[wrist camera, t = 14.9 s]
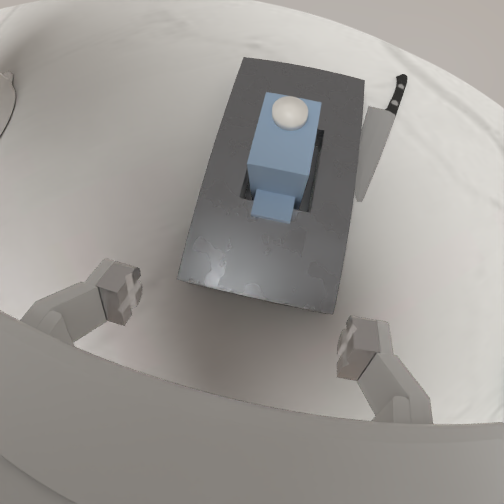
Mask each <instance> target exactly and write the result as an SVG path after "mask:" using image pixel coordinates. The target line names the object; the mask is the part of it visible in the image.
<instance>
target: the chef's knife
mask: <svg viewBox="0 0 504 504" xmlns="http://www.w3.org/2000/svg"><path fill="white" fill-rule="evenodd" d="M396 78H397V87H396V90H395V92H394V95H393V97H392V99H391V101H390V103H389V105H388V108H387V109H385V110H384V109H379V108H374V107H370V106H369V107H368V110H367V114H366V117H365V120H364V124H363V127H362V131H361V137H360V148H359V157H358V166H357V175H356V183H355V195H356V199H357V201H358V202H362V200H363V198H364V196H365V193H366V191H367V189H368V186H369V184H370V181H371V179H372V177H373V174H374V172H375V169H376V167H377V164H378V162H379V159H380V157H381V154H382V151H383V149H384V146H385V144H386V141H387V138H388V135H389V133H390V130H391V127H392V125H393V122H394V119H395V116H396V113H397V110H398V107H399V104H400V101H401V98H402V96H403V93H404V90H405V87H406V83H407V76H406V75H405V74H402V75H400V76H397V77H396Z"/></svg>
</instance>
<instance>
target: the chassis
mask: <svg viewBox="0 0 504 504" xmlns="http://www.w3.org/2000/svg"><path fill="white" fill-rule="evenodd" d="M364 84H365V80H361V79H358V78H354V77H350V76H346V75H342V74H338V73H333V72H329V71H325V70H320V69H315V68H310V67H305V66H300V65H294V64H288V63H282V62H276V61H269V60H262V59H254V58H246V57H244V58H243V61H242V64H241V66H240V69H239V72H238V75H237V78H236V80H235V83H234V86H233V89H232V92H231V95H230V98H229V101H228V104H227V107H226V109H225V112H224V116H223V119H222V122H221V125H220V128H219V131H218V134H217V137H216V140H215V143H214V147H213V150H212V153H211V156H210V160H209V163H208V166H207V169H206V173H205V176H204V180H203V183H202V186H201V190H200V193H199V197H198V200H197V204H196V207H195V211H194V215H193V218H192V222H191V226H190V229H189V233H188V237H187V241H186V244H185V248H184V252H183V256H182V260H181V264H180V268H179V272H178V276H177V279H178V280H181V281H184V282H187V283H191V284H195V285H200V286H204V287H208V288H212V289H216V290H220V291H225V292H229V293H233V294H237V295H242V296H246V297H251V298H255V299H259V300H264V301H268V302H273V303H278V304H282V305H287V306H291V307H296V308H301V309H306V310H311V311H315V312H320V313H325V314H333V312H334V308H335V303H336V298H337V293H338V288H339V283H340V278H341V272H342V267H343V261H344V256H345V250H346V244H347V238H348V232H349V226H350V219H351V212H352V205H353V198H354V191H355V183H356V175H357V166H358V157H359V148H360V137H361V126H362V114H363V100H364ZM266 92H269V93H275V94H281V95H287V96H293V97H297V98H302V99H307V100H312V101H317V102H321V109H320V115H319V121H318V127H317V133H316V139H315V145H314V146H319V153H318V159H317V165H316V170H315V176H314V182H313V187H312V193H311V198H310V204H309V209H308V212H305V211H300V210H296V209H293V212H292V217H291V221H290V224H287V223H282V222H278V221H273V220H268V219H264V218H259V217H254V216H251V211H252V207H253V202H254V201H253V200H248V199H245V196H246V192H247V188H248V184H249V175H248V168H247V161H248V157H249V154H250V150H251V146H252V142H253V139H254V135H255V131H256V127H257V124H258V120H259V116H260V113H261V109H262V105H263V102H264V98H265V95H266Z"/></svg>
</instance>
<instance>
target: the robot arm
mask: <svg viewBox="0 0 504 504" xmlns="http://www.w3.org/2000/svg"><path fill="white" fill-rule="evenodd" d="M12 81H13V74H12V73H10V72H5V73H3V74H1V73H0V135H1V133H2V132H3V130H4V128H5V126H6V124H7V122H8V120H9V118H10V116H11V113H12V110H13V107H14V103H15V90H14V88H13V86H12ZM140 276H141V274H140V269H139V268H138V267H135V266H131V265H128V264H124V263H121V262H118V261H113V260H110V259H104V260H103V261H102V262H101V263H100V264H99V265H98V267H97V268H96V269H95V270H94V271H93V273H92V274H91V275H90V276H89V277H88V279H87V280H86V281H85V282H80V283H77V284H75V285H73V286H70V287H68V288H66V289H63V290H61V291H59V292H56V293H54V294H52V295H49V296H47V297H45V298H43V299H40V300H38V301H36V302H35V303H34V304H33V305H32V306H31V308H30V309H29V310H28V311H27V313H26V314H25V315H24V316H23V317H22V319H21V320H20V321H19V320H18V319H16V318H14V317H12V316H10V315H8V314H6V313H4V312H3V311H1V310H0V504H504V423H502V422H494V423H478V424H433V419H432V411H431V403H430V398H429V396H428V395H427V394H426V392H425V391H424V390H423V388H422V387H421V386H420V385H419V383H418V382H417V381H416V379H415V378H414V377H413V376H412V374H411V373H410V372H409V370H408V369H407V368H406V367H405V365H404V364H403V363H402V362H401V360H400V359H399V358H398V357H397V356H396V355H393V348H392V341H391V335H390V328H389V323H388V322H386V321H380V320H374V319H368V318H362V317H357V316H350V317H349V318H348V320H347V322H346V329H344V330H342V333H341V335H340V338H339V341H338V347H337V354H338V355H339V357H340V358H339V360H338V362H337V377H339V378H344V379H350V380H356V381H357V383H358V384H359V386H360V388H361V390H362V392H363V394H364V395H365V397H366V399H367V401H368V403H369V405H370V407H371V408H372V410H373V412H374V414H375V416H376V417H375V418H374V419H373V420H372V421H363V420H353V419H344V418H336V417H328V416H321V415H314V414H307V413H301V412H295V411H289V410H284V409H278V408H273V407H268V406H263V405H258V404H253V403H249V402H244V401H240V400H236V399H231V398H227V397H223V396H219V395H215V394H211V393H208V392H204V391H200V390H197V389H193V388H189V387H186V386H183V385H179V384H176V383H173V382H169V381H166V380H163V379H160V378H157V377H154V376H151V375H148V374H145V373H142V372H139V371H136V370H133V369H130V368H128V367H125V366H122V365H119V364H117V363H114V362H111V361H109V360H106V359H104V358H101V357H98V356H96V355H93V354H91V353H89V352H86V351H84V350H81V349H79V348H77V347H75V346H74V342H75V341H77V340H78V339H80V338H81V337H83V336H85V335H86V334H88V333H89V332H91V331H92V330H94V329H96V328H97V327H99V326H100V325H102V324H103V323H105V322H107V321H111V322H114V323H117V324H120V325H124V326H125V325H126V323H127V322H128V320H129V318H130V317H131V315H132V311H131V309H133V308H135V307H137V305H138V304H139V302H140V299H141V296H142V284H141V282H140V281H139V280H138V279H139V278H140Z"/></svg>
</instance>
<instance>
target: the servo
mask: <svg viewBox="0 0 504 504" xmlns="http://www.w3.org/2000/svg"><path fill="white" fill-rule="evenodd" d="M320 109H321V102H317V101H312V100H307V99H302V98H297V97H293V96H287V95H281V94H275V93H269V92H266V95H265V98H264V102H263V105H262V109H261V113H260V116H259V120H258V124H257V127H256V131H255V135H254V139H253V142H252V146H251V150H250V154H249V157H248V161H247V168H248V175H249V182H250V190H251V197H252V200H253V201H254V202H253V207H252V211H251V216H254V217H259V218H264V219H268V220H273V221H278V222H282V223H287V224H290V221H291V217H292V212H293V209H296V210H298V209H299V206H300V203H301V200H302V197H303V193H304V190H305V187H306V184H307V181H308V177H309V173H310V167H311V162H312V156H313V151H314V145H315V139H316V133H317V127H318V121H319V115H320Z"/></svg>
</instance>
